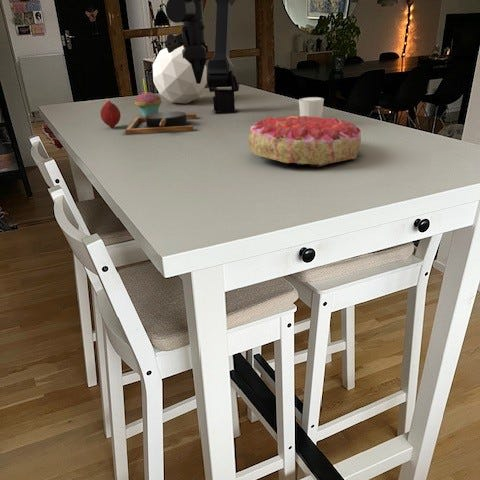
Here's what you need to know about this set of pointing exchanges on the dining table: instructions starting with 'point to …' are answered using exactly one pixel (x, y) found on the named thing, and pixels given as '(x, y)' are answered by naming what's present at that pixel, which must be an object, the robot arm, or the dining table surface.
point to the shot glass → (311, 106)
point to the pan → (166, 119)
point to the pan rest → (131, 127)
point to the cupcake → (147, 102)
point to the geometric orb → (176, 77)
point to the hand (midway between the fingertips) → (198, 83)
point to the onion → (110, 114)
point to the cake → (305, 140)
